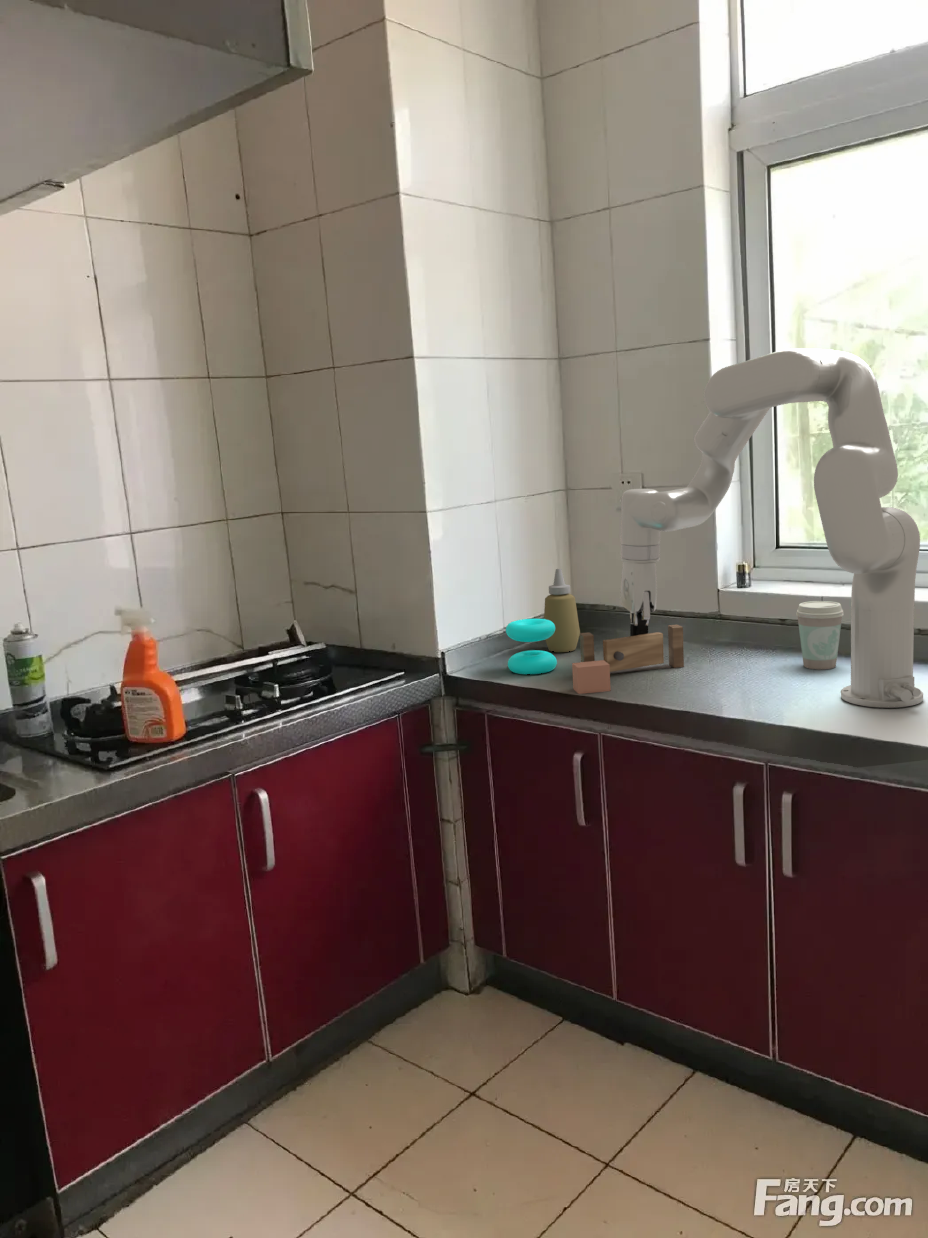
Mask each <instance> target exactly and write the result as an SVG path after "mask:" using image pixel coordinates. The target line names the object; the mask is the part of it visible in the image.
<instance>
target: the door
mask: <svg viewBox="0 0 928 1238" xmlns="http://www.w3.org/2000/svg"><path fill="white" fill-rule="evenodd" d="M602 648H603V649H602V651H603V656H602V658H603V660H604V661H605V662H607V663H608V664H609V665H610V672H612V671H618V670H624V669H631V668H637V667H643V666H654V665H663V664H664V663H665V662H664V661H665V660H664V654H665V653H664V634H663V632H659V631H657V632H650V633H649V632H648V634H642V635H636V636H630V635H628V636H623V637H616V638H609V639H603V640H602Z"/></svg>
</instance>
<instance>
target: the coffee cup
mask: <svg viewBox="0 0 928 1238" xmlns="http://www.w3.org/2000/svg"><path fill="white" fill-rule="evenodd" d="M795 615H796V617H797V623H798V630H799V631H798V632H799V638H800V639H799V641H800V647H801V655H802V664H803V667H804V668H805V669H810V670H819V671H820V670H831V669H834V668H836V666H837V661H838V651H839V644H840V637H841V636H840V634H841V630H842V629H841V628H842V627H841V626H842V621H843V620H842V619H843V616H844V615H845V614H844V609H843V607H842V605H841V603H840V602H836V601H827V600H825V601H824V600H812V601H805V602H804V601H803V602H801V603H799V604H798V607H797V610H796V613H795Z"/></svg>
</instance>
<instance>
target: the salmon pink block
mask: <svg viewBox="0 0 928 1238" xmlns="http://www.w3.org/2000/svg"><path fill="white" fill-rule="evenodd" d="M571 665H572V667H571V670H572V688H573V690H574V691H575V692H576V693H577V694H578V695H583V694H592V693H603V692H611V687H612V686H611V674H610V665H609V664H608V663H607V662H605V661H604V659H601V660H600V659H599V660H595V661H589V662H581V661H580V662H572V663H571Z"/></svg>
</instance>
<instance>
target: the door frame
mask: <svg viewBox="0 0 928 1238" xmlns="http://www.w3.org/2000/svg"><path fill="white" fill-rule="evenodd" d="M667 638H668V639H667V640H668V641H667V642H668V664H666V663H665V664H664V663H663V664H656V665H649V666H643V667H637V668H631V669H624V670H618V671H612V672H610V675H611V674H618V673H629V672H630V673H631V672H640V671H653V670H662V669H671V668H675V669H676V668H684V667H685V662H684V661H685V660H684V659H685V658H684V657H685V655H684V654H685V653H684V627H683V626H682V625H679V624H671V625H670V624H669V625H667ZM579 648H580V649H579V650H580V662H589V661H596V660H595V636H594V634H593V633H591V632H580V636H579Z"/></svg>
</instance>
